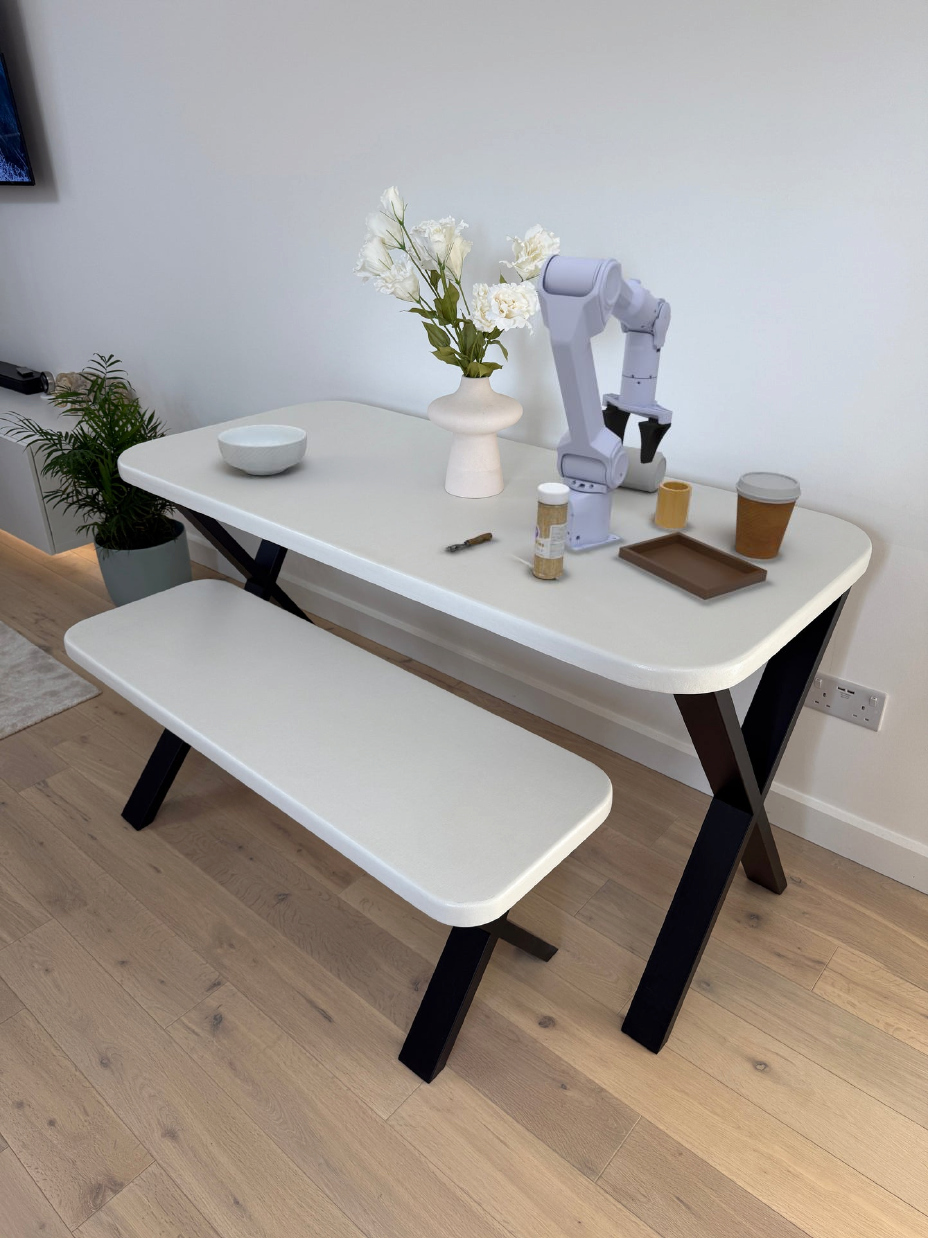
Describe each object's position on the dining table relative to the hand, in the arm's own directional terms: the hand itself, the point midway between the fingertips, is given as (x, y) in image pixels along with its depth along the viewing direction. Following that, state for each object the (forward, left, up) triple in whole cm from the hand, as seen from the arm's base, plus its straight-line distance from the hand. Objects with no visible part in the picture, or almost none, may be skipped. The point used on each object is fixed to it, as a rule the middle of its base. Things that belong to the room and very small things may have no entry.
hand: (630, 456), depth 145 cm
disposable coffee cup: (+5, -25, -10) cm, 27 cm away
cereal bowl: (-45, +54, -10) cm, 71 cm away
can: (+13, +4, -6) cm, 15 cm away
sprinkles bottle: (-28, -14, -10) cm, 33 cm away
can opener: (-32, +1, -10) cm, 34 cm away
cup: (+2, -9, -10) cm, 14 cm away
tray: (-9, -24, -10) cm, 27 cm away
